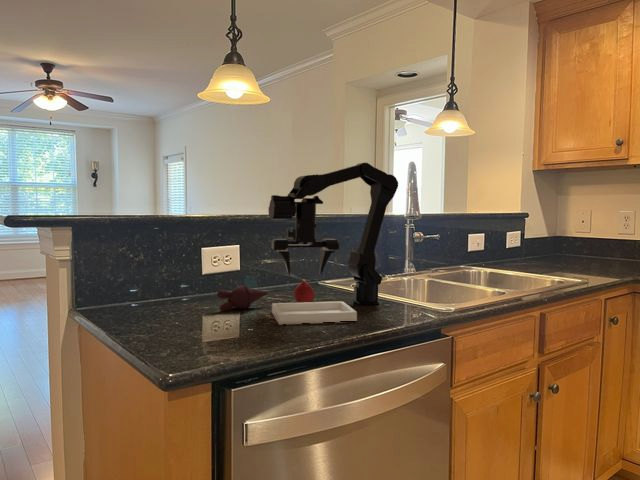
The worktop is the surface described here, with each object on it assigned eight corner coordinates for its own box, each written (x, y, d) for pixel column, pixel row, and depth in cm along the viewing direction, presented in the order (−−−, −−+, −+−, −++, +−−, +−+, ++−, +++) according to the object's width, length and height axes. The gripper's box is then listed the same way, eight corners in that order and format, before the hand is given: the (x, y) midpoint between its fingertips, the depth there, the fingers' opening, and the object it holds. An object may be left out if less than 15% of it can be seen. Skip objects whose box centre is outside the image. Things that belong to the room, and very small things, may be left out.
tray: (342, 310, 133) (342, 301, 133) (356, 321, 121) (356, 312, 120) (271, 312, 129) (272, 303, 128) (278, 324, 116) (279, 314, 116)
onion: (316, 305, 138) (317, 278, 137) (309, 309, 133) (310, 281, 132) (298, 304, 140) (298, 277, 139) (290, 308, 134) (291, 280, 134)
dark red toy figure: (260, 281, 140) (211, 290, 132) (270, 279, 134) (220, 288, 126) (264, 304, 139) (216, 315, 131) (275, 303, 133) (225, 313, 125)
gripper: (330, 219, 144) (329, 269, 145) (269, 218, 140) (268, 270, 141) (340, 220, 133) (339, 275, 135) (274, 220, 129) (274, 276, 130)
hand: (304, 274), depth 136 cm, fingers open, 9 cm apart
